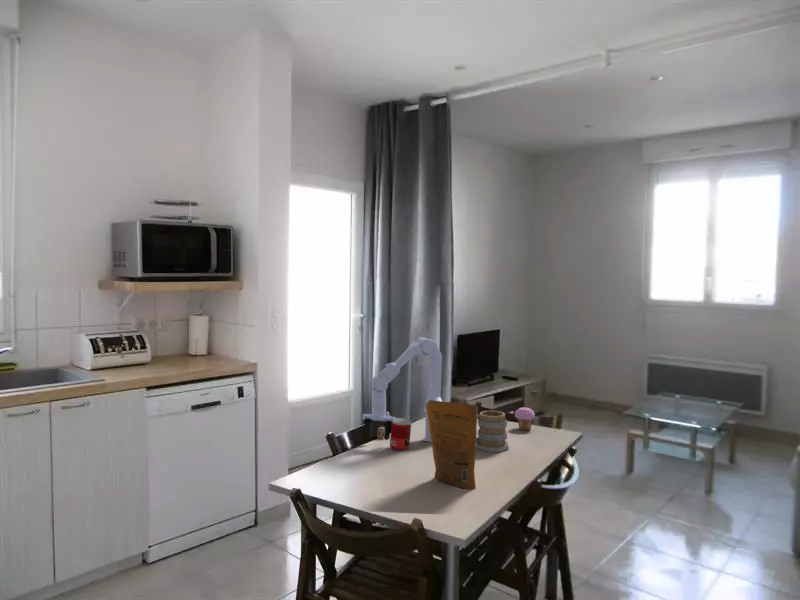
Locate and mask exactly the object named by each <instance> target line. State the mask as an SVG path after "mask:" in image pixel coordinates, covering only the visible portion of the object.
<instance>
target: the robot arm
mask: <svg viewBox="0 0 800 600" xmlns="http://www.w3.org/2000/svg"><path fill="white" fill-rule="evenodd" d="M404 350H405V351H403V352H402V354H400V355H399V357H397V359H396V360H395V361H394V362H390V363H386V364H385V365H384V366H385V367H384V368H383V369H382V370H381V371H380V372H378V373H377V374H376V375H375V376H373V377H372V378H371V379H370V380H371V381H370V382H369V385H370V388H371V413H363V414H362V420H363V424H364V426H365V428H366V430H367V434H368V438H373V437H374V424H375V421H379V422H384V423H383V427H385V439H384V440H385V441H388V440H390V436H391V423H392V420H396V418H397V416H390V415H387V393H386V392H387V391H386V390H387V389H388V387H389V384H390V383H391V382H392V381H393V380H394V379H395V378H396V377H397V376H398V375H399V374H400V372H401V368H402V367H403V366H404V365H405V364H406V363H408V362H410V360H411V359H412V358H413V357H414V356H421V355H423V354H424V356H426V358H428V360H429V363H428V364H429V365H428V387H427V391H428V392H427V397H426V399H425V403H424V405H423V409H422V410H423V412H424V414H425V434H424V435H425V437H424V438H422V439H421V441H422V442H430V443H431V438H430V431H429V425H428V418H427V413H426V403H428V401H429V400H434V401H441V402H443V399H442V397H441V393H442V392H441V391H442V390H441V389H442V370H443V369H442V365H443V364H442V363H443V354H442V352H441V351H440V349H439V346H438V343H437V342H435V341H434V340H433V339H431V338H428V337H425V336H418V337H417V338H416V339H415V340H414V341H412V342H411V343H410V345H408V347H407V348H406V349H404Z"/></svg>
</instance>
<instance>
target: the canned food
mask: <svg viewBox="0 0 800 600" xmlns="http://www.w3.org/2000/svg"><path fill="white" fill-rule="evenodd" d="M411 429H412V421H411V420H410V419H407V418H401V417H396V420H392V423H391V432H390V437H389V446H390V449H393V450H395V451H406V450H409V449H410V443H411V433H412V432H411Z"/></svg>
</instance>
